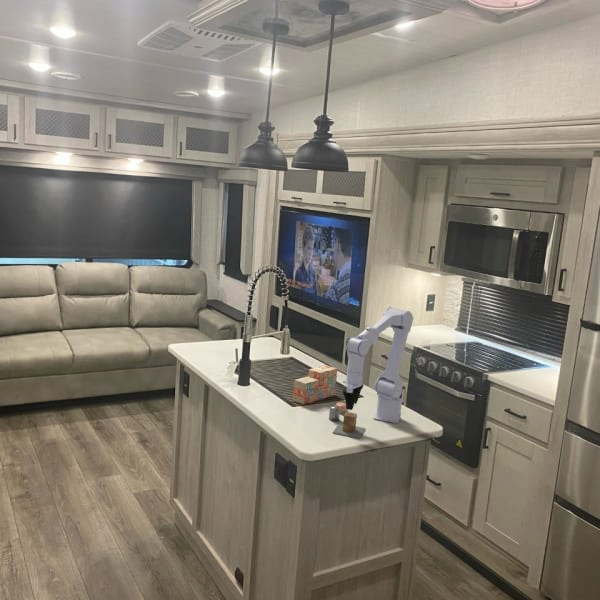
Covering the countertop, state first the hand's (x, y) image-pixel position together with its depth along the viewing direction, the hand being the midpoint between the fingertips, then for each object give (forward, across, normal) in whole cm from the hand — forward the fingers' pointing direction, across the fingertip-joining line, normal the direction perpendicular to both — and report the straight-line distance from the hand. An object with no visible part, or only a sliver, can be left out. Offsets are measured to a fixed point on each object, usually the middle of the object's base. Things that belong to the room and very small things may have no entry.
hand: (351, 406), depth 221 cm
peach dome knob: (+10, -18, -7) cm, 22 cm away
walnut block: (+9, +1, 0) cm, 9 cm away
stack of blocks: (+10, -29, -22) cm, 38 cm away
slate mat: (+9, +1, 0) cm, 9 cm away
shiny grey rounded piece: (+9, -8, -8) cm, 14 cm away
